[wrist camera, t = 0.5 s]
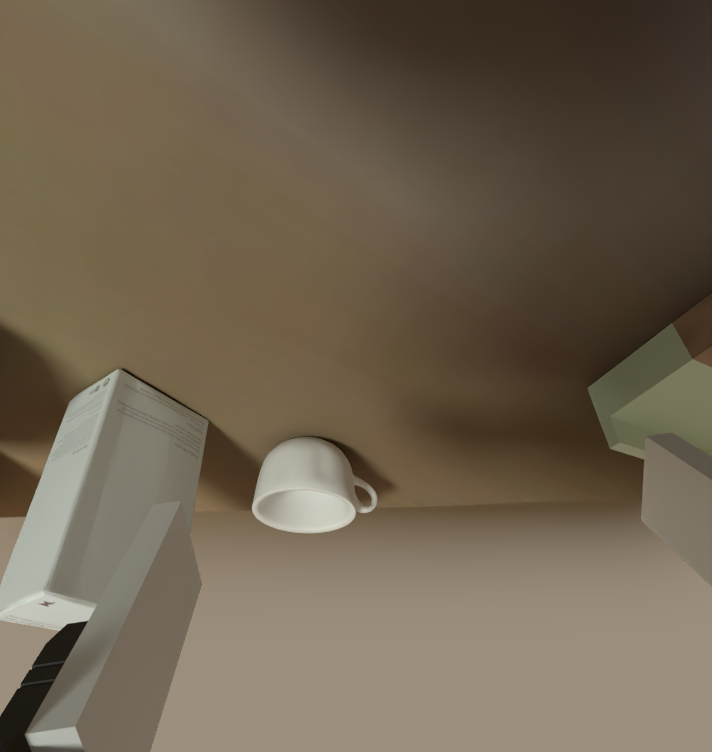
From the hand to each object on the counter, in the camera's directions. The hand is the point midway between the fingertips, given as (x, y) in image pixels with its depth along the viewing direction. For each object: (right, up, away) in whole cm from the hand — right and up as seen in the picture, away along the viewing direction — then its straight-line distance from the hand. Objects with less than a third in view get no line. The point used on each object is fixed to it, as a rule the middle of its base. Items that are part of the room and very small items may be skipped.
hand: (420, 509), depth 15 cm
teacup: (-5, -3, +29) cm, 29 cm away
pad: (+23, +3, +22) cm, 32 cm away
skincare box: (-17, +2, +24) cm, 29 cm away
